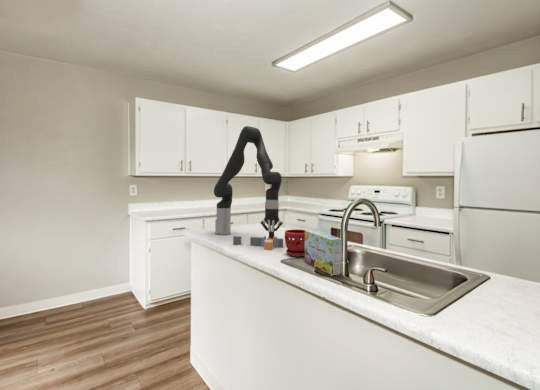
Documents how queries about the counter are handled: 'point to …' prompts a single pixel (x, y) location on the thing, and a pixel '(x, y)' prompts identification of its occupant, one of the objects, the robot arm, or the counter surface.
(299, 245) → the plant pot
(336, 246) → the snack box
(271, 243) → the banded orange pillar
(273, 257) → the counter surface
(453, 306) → the counter surface
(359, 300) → the counter surface
